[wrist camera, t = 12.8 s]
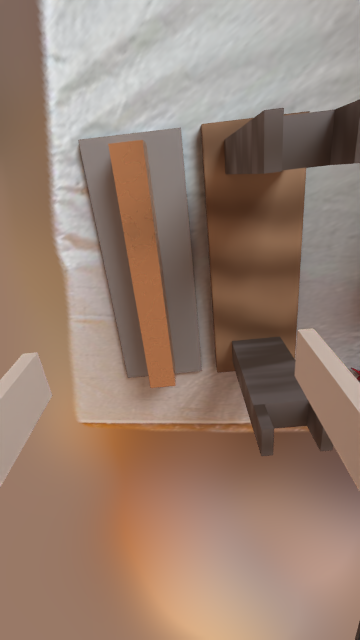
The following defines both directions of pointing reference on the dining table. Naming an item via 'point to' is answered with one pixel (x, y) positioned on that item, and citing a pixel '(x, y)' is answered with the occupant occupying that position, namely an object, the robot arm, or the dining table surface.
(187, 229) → the rubber mat
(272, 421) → the rail stand
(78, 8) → the dining table surface
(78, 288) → the dining table surface
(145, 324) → the copper rail
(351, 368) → the decorative bird figurine
